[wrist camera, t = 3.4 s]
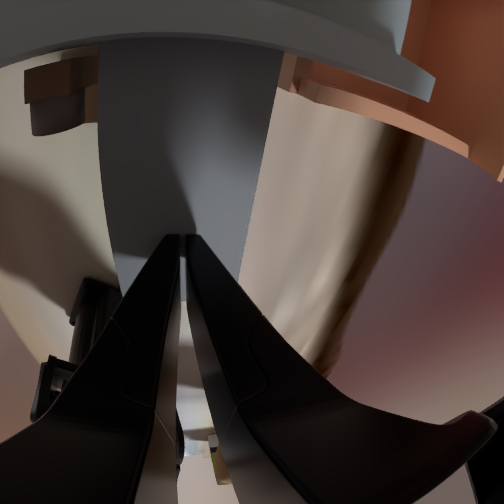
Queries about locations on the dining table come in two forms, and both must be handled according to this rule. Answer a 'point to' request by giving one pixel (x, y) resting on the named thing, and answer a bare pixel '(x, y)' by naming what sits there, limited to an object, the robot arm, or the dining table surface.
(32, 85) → the lever stand
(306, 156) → the dining table surface
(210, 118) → the grey flat piece
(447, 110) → the brown boxy piece
